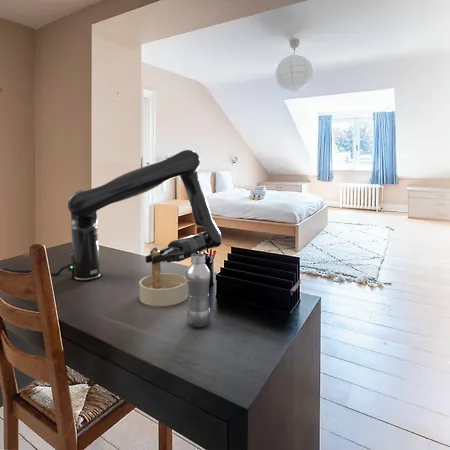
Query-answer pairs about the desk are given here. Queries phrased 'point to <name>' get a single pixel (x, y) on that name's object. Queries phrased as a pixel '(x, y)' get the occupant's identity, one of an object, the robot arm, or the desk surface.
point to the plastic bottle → (198, 292)
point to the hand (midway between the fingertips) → (149, 260)
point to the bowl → (164, 290)
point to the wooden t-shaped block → (156, 273)
